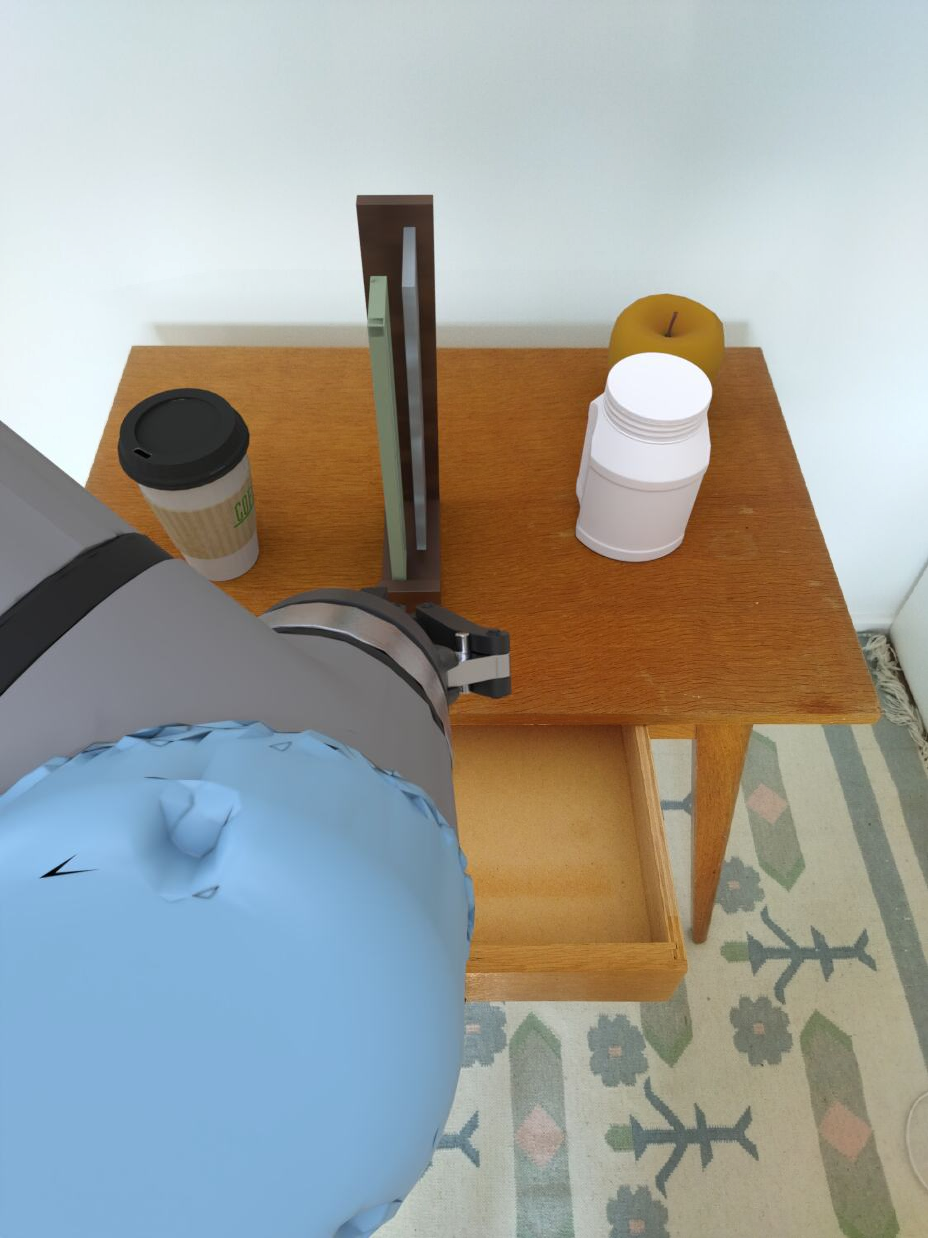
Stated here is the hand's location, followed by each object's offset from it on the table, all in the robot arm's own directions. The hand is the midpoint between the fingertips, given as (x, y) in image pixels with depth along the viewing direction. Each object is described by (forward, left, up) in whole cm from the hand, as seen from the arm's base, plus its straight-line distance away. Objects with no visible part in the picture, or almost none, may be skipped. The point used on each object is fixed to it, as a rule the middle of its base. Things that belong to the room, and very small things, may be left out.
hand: (375, 610), depth 48 cm
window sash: (0, +16, -16) cm, 22 cm away
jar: (+21, +24, -18) cm, 37 cm away
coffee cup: (-16, +20, -18) cm, 31 cm away
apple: (+25, +37, -18) cm, 48 cm away
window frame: (+1, +19, -18) cm, 26 cm away
